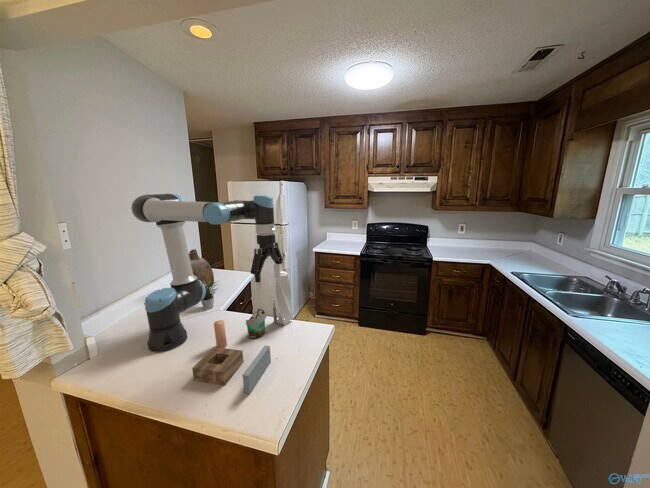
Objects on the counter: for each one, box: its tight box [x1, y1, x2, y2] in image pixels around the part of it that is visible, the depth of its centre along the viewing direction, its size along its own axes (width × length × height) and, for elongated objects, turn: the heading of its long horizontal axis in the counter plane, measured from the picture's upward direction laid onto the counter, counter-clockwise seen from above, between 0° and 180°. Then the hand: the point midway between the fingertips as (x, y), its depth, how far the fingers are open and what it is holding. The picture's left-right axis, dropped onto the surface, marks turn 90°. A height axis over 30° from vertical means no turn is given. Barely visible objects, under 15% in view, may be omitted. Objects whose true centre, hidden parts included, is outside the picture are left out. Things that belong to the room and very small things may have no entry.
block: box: [191, 346, 244, 386], centre depth 93 cm, size 12×12×5 cm
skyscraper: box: [272, 266, 293, 327], centre depth 127 cm, size 8×8×28 cm
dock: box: [242, 345, 272, 395], centre depth 92 cm, size 23×16×8 cm
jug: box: [188, 248, 215, 289], centre depth 167 cm, size 24×21×30 cm
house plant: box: [200, 280, 218, 311], centre depth 147 cm, size 14×14×16 cm
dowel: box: [213, 319, 228, 348], centre depth 108 cm, size 4×4×12 cm
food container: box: [245, 307, 267, 340], centre depth 118 cm, size 12×6×10 cm, turn 168°
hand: (269, 283), depth 110 cm, fingers open, 13 cm apart
